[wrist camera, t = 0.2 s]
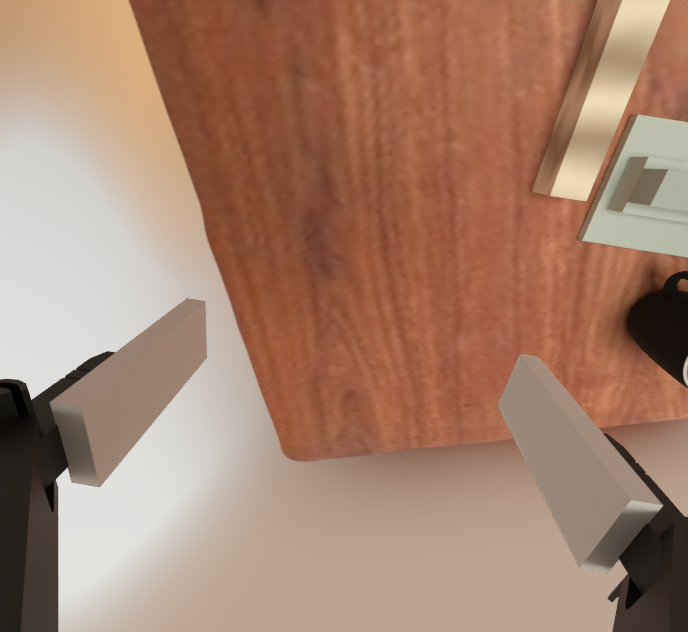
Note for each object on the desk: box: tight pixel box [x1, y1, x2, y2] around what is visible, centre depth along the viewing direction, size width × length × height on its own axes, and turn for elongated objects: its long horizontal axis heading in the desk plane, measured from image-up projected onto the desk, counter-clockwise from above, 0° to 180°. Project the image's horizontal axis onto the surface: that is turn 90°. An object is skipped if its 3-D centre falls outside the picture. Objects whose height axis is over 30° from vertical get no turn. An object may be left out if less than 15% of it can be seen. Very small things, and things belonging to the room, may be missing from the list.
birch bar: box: [532, 0, 670, 201], centre depth 30 cm, size 22×4×4 cm, turn 172°
